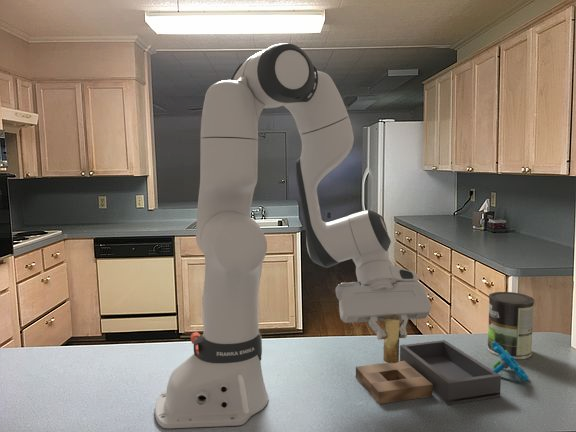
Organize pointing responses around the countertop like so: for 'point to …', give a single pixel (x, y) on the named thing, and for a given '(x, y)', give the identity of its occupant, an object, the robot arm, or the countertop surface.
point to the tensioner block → (393, 382)
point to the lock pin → (391, 340)
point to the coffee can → (511, 323)
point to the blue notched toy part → (507, 362)
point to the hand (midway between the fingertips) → (392, 337)
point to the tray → (452, 372)
